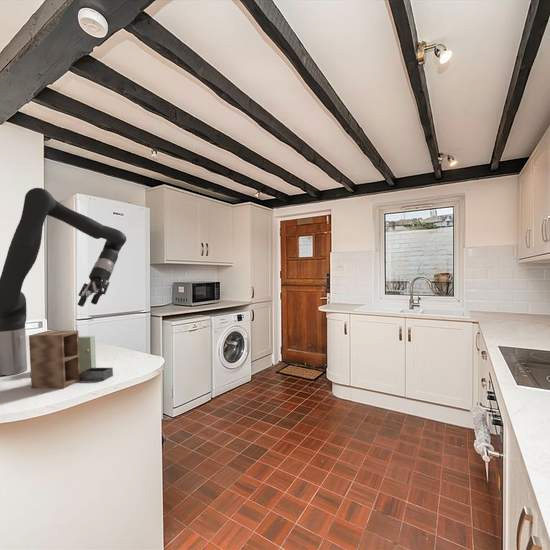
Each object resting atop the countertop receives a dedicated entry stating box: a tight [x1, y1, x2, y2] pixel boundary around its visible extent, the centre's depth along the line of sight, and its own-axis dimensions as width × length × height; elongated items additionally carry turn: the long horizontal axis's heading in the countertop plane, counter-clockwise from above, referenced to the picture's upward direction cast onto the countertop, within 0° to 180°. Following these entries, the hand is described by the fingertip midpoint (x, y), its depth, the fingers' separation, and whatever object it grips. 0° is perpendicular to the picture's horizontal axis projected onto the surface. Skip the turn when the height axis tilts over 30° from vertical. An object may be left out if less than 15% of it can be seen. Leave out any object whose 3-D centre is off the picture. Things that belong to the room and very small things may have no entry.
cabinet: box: [28, 330, 80, 389], centre depth 107 cm, size 12×8×18 cm, turn 84°
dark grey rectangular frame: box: [79, 367, 114, 381], centre depth 112 cm, size 9×5×3 cm, turn 84°
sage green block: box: [79, 335, 97, 373], centre depth 119 cm, size 6×4×14 cm, turn 84°
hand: (86, 304), depth 125 cm, fingers open, 8 cm apart
